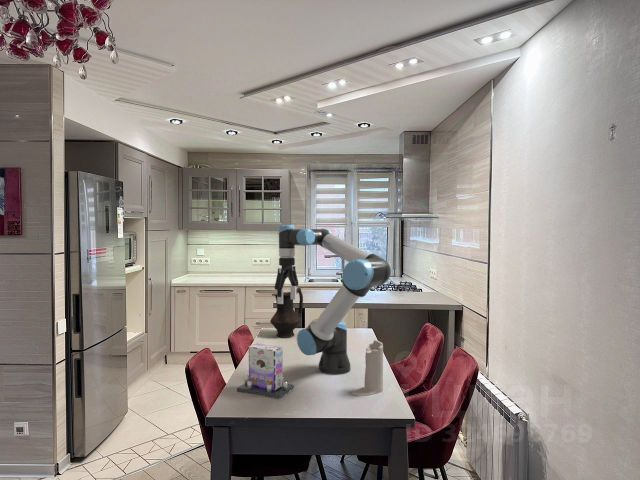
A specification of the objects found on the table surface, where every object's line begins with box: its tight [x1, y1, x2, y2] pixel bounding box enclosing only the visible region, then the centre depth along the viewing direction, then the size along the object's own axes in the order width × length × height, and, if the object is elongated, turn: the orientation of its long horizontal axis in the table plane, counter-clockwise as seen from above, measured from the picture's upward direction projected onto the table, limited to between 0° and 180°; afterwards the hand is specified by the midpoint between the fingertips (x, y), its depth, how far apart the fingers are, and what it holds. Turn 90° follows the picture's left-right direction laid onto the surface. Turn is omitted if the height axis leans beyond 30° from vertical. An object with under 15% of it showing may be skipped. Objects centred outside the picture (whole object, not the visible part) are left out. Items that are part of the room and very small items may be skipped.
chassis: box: [236, 374, 295, 399], centre depth 175 cm, size 20×12×4 cm, turn 67°
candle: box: [351, 339, 384, 397], centre depth 173 cm, size 7×14×20 cm, turn 119°
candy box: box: [248, 343, 284, 391], centre depth 175 cm, size 14×6×16 cm, turn 59°
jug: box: [269, 286, 304, 338], centre depth 264 cm, size 21×18×30 cm
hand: (287, 301), depth 203 cm, fingers open, 13 cm apart
